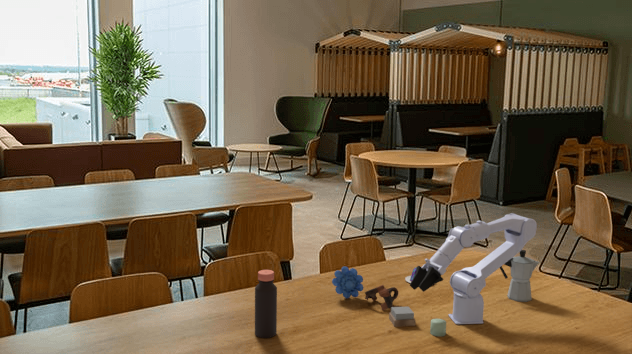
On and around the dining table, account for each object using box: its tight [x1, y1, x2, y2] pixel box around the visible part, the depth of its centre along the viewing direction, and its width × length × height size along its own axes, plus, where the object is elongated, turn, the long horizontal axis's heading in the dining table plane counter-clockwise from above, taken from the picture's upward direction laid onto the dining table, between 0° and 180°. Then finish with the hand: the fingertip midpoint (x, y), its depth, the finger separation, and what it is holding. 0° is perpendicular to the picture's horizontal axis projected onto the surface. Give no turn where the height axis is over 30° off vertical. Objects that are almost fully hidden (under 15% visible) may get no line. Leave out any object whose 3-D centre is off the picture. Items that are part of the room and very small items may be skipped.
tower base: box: [388, 311, 416, 327], centre depth 214 cm, size 7×7×2 cm
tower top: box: [390, 305, 415, 320], centre depth 214 cm, size 6×6×2 cm
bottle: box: [254, 269, 278, 339], centre depth 201 cm, size 7×7×20 cm
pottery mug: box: [364, 284, 399, 311], centre depth 230 cm, size 12×10×8 cm
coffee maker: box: [499, 249, 541, 303], centre depth 238 cm, size 15×9×18 cm, turn 84°
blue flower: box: [331, 266, 364, 299], centre depth 233 cm, size 12×7×12 cm, turn 101°
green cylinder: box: [429, 318, 447, 338], centre depth 206 cm, size 5×5×4 cm
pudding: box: [404, 267, 417, 283], centre depth 256 cm, size 12×12×5 cm
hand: (416, 288), depth 206 cm, fingers open, 7 cm apart
